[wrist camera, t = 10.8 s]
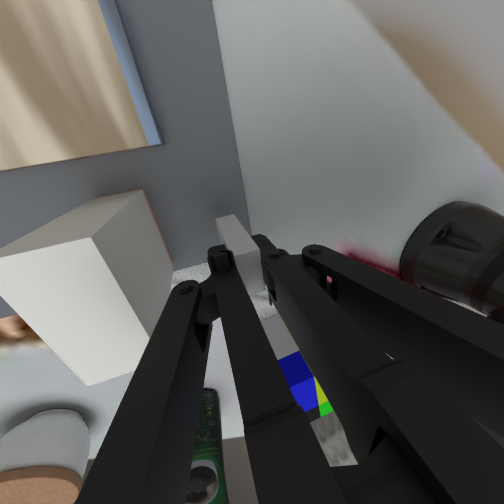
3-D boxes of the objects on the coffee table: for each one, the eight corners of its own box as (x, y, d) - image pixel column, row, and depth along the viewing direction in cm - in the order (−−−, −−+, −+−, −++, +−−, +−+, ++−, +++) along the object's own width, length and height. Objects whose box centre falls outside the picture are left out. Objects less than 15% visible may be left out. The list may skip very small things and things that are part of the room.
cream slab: (143, 187, 18) (90, 237, 8) (173, 262, 22) (162, 360, 12) (95, 197, 18) (-30, 264, 7) (134, 273, 22) (87, 386, 11)
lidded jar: (2, 398, 24) (-89, 523, 16) (108, 395, 29) (78, 493, 21) (0, 450, 27) (-78, 576, 19) (95, 441, 32) (65, 540, 24)
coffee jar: (153, 421, 34) (123, 668, 18) (162, 389, 31) (136, 646, 15) (211, 414, 37) (230, 613, 21) (223, 385, 35) (256, 587, 19)
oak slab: (102, -36, 10) (-223, -30, 8) (160, 143, 14) (-51, 178, 12) (123, 10, 14) (-103, 23, 12) (165, 144, 18) (2, 172, 15)
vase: (260, 393, 39) (334, 632, 20) (326, 338, 37) (477, 542, 18) (304, 411, 47) (386, 592, 28) (360, 367, 45) (488, 528, 26)
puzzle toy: (236, 330, 30) (256, 403, 21) (298, 304, 31) (341, 363, 23) (252, 368, 35) (274, 440, 26) (305, 345, 36) (342, 406, 28)
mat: (208, -12, 15) (209, -16, 14) (252, 247, 25) (253, 249, 24) (-316, 10, 10) (-333, 5, 10) (0, 316, 20) (-3, 319, 20)
